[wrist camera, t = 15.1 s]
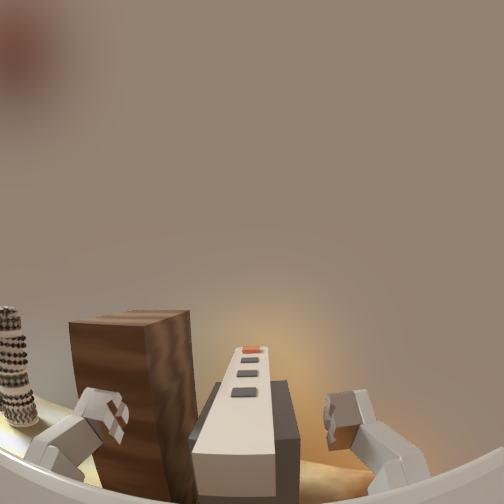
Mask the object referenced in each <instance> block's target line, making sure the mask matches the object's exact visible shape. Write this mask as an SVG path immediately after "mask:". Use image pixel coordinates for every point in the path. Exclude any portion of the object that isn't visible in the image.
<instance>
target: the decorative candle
mask: <svg viewBox="0 0 504 504" xmlns="http://www.w3.org/2000/svg"><path fill="white" fill-rule="evenodd" d="M20 315H21V314H19V313H18V311H17V309H16V308H15V307H10V306H0V396H1V402H2V403H3V406H2V408H3V410H4V415H5V417H6V421H7V423H8V424H9V425H11V426H14V427H29V426H32V425H35V424H36V423H37V422H38V421H39V417H38V416H37V414H38V413H37V410H36V404H35V403H34V402H33V401H34V397H33V396H32V394H33V391H32V390H31V387H30V382H29V380H28V375H27V371H28V367H27V366H26V365H25V364H27V363H28V361H27V360H26V359H25V360H24V357H26V356H27V353H25V352H24V351H23V348H25V347H26V344H25V343H24V342H23V343H22V341H24V340H25V339H26V337H25V336H23V334H22V328H21V320H20Z"/></svg>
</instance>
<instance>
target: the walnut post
mask: <svg viewBox="0 0 504 504" xmlns="http://www.w3.org/2000/svg"><path fill="white" fill-rule="evenodd" d="M69 333H70V343H71V351H72V360H73V367H74V374H75V380H76V386H77V392H78V397H79V399H80V397H81V395H82V393H83V391H84V390H85V389H86V388H87V387H89V388H95V389H100V390H106V391H112V392H118V393H120V395H121V397H122V400H121V401H122V402H123V403H125V404H126V406H127V408H128V411H129V419H128V423H127V425H126V426H125V427H123V428H122V429H123V432H124V435H123V438H122V440H121V443H120V445H116V444H111V443H105V442H103V443H102V444H101V445H100V446H99V447H98V448H97V449H96V450H95V451H94V452H93V453H92V456H93V459H94V463H95V466H96V469H97V472H98V475H99V478H100V481H101V484H102V487H103V489H106V490H110V491H114V492H118V493H122V494H126V495H131V496H135V497H140V498H145V499H151V500H156V501H162V502H169V503H176V504H195V503H196V500H197V491H196V486H195V480H194V475H193V469H192V463H191V456H190V450H189V443H188V438H189V436H190V434H191V432H192V430H193V428H194V426H195V424H196V422H197V420H198V411H197V402H196V392H195V381H194V369H193V357H192V343H191V327H190V310H133V311H128V312H123V313H118V314H112V315H107V316H101V317H96V318H90V319H85V320H78V321H73V322H69Z"/></svg>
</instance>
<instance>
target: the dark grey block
mask: <svg viewBox="0 0 504 504" xmlns="http://www.w3.org/2000/svg"><path fill="white" fill-rule="evenodd" d="M221 383H222V382H216V384H215V386H214V388H213V390H212V392H211V394H210V396H209V398H208V400H207V402H206V404H205V406H204V408H203V410H202V412H201V414H200V416H199V418H198V420H197V422H196V424H195V426H194V428H193V430H192V432H191V434H190V436H189V438H188V443H189V450H190V456H191V463H192V469H193V475H194V480H195V486H196V491H197V497H198V502H199V504H299V482H300V434H299V430H298V426H297V422H296V417H295V413H294V409H293V405H292V400H291V396H290V392H289V388H288V383H287V380H284V381H270V387H271V401H272V415H273V430H274V445H275V475H276V496H270V497H224V496H206V495H199V494H198V489H197V483H196V478H195V472H194V465H193V459H192V451H193V448H194V446H195V444H196V441H197V439H198V437H199V435H200V432H201V430H202V428H203V425H204V423H205V421H206V418H207V416H208V414H209V411H210V409H211V407H212V404H213V402H214V400H215V397H216V395H217V393H218V390H219V388H220V386H221Z"/></svg>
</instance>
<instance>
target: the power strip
mask: <svg viewBox="0 0 504 504" xmlns="http://www.w3.org/2000/svg"><path fill="white" fill-rule="evenodd" d="M192 459H193V465H194V472H195V478H196V483H197V489H198V494H199V495H206V496H224V497H270V496H276V475H275V445H274V430H273V415H272V401H271V387H270V374H269V359H268V347H259V346H246V347H243V348H236V350H235V353H234V355H233V357H232V359H231V362H230V365H229V367H228V369H227V371H226V374H225V376H224V379H223V381H222V383H221V386H220V388H219V390H218V393H217V395H216V397H215V400H214V402H213V404H212V407H211V409H210V411H209V414H208V416H207V418H206V421H205V423H204V425H203V428H202V430H201V432H200V435H199V437H198V439H197V441H196V444H195V446H194V448H193V451H192Z"/></svg>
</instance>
